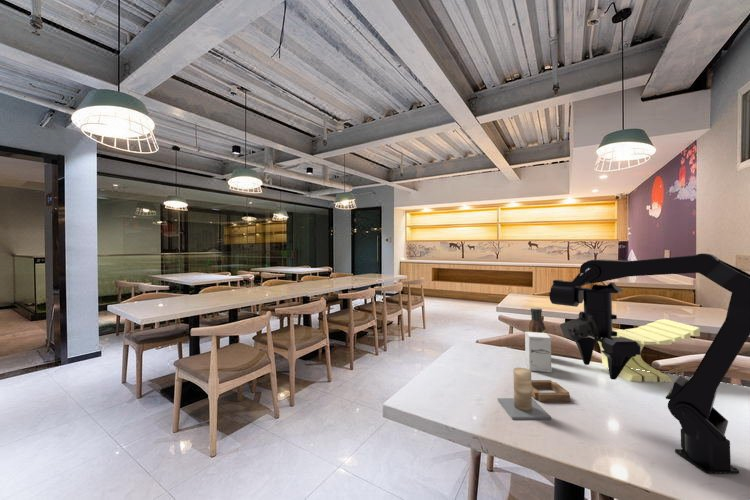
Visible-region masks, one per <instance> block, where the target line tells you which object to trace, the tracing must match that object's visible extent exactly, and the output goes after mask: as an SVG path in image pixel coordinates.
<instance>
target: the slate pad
mask: <svg viewBox="0 0 750 500" xmlns="http://www.w3.org/2000/svg"><path fill="white" fill-rule="evenodd" d="M497 402H498V403H499V404H500V405H501V407H502V408H503V409H504V410H505V412H506V414H508V415H509V417H510V418H511V419H512V420H552V416H551V415H550V414H549V413H548V412H547V411H546V410H545V409H544V407H542V406H541V405H540V404H539V403H538V402H537V401H536V399H534V398H532V410H531V411H521V410H518V409H517V408H515V406H514V397H511V398H510V397H509V398H507V397H506V398H503V397H501V398H500V397H499V398H498V397H497Z"/></svg>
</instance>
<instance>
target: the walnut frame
mask: <svg viewBox="0 0 750 500" xmlns="http://www.w3.org/2000/svg"><path fill="white" fill-rule="evenodd" d="M531 386H532V399H534V400H537V401H538V402H539V403H553V402H554V403H570V402H571V394H570V392H569V391H568V390H567V389H565V388H564V387H563V386H561V385H560V384H558V383H557V382H555V381H552V380H551V379H542V380H541V379H537V380H536V379H533V380H532V379H531ZM538 389H550V390H552V391H553V392H551V391H550V392H549V391H548V392H540V391H538Z"/></svg>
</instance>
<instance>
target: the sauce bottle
mask: <svg viewBox="0 0 750 500" xmlns="http://www.w3.org/2000/svg"><path fill="white" fill-rule="evenodd" d="M542 312H543V309H542V308H540V307H531V308H530V313H531V317H530V318H531V320H530V321H529V323H528V332H537V333H546V334H547V331H546V330H547V329H546V326H545V323H544V321H543V318H542V317H543V316H542Z"/></svg>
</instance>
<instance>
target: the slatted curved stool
mask: <svg viewBox="0 0 750 500" xmlns="http://www.w3.org/2000/svg"><path fill="white" fill-rule="evenodd" d="M612 331H615V332H617V336H612V337H625V338H628V339H631V340H633V341H636V342H637V343H638V344H639V345H641V351H642V350H643V349H644V347H645V345H646V346H647V345H660V346H662V345H663V346H665V345H666V346H670V345H672V344H673V343H672V342H674V343H682V340H692V339H691V337H701V329H700V327H699V326H695V325H690V324H686V323H682V322H679V321H674V320H672V319H667V318H666V319H665V318H662V319H657V320H654V322H649V323H646V324H645V325H640V326H639V325H638V327H634V328H625V329H612ZM597 343H598V345H599V348H600V352H601V364H602V366H603V365H604V366H606V367H607V368H608V360H607V356H606V355H605V354H604V353H603V352H602V351H604V349H603V348H602V342H599V341H597ZM641 355H642V354H641ZM641 355H636V356H635V357H632V358H631V359H630V360H629V361H628V362H627V363H626V365H625V366H624V368H623V369H622V371H621V372H620V374H619V375H618V377H621V378H623V379H625V380H626V381H628V382H638V383H639V382H645V381H646V382H647V381H650V383H658V382H659V381H663V382H662V383H673V381H672V379H671V376H669V375H667V374H665V373H663V372H662V371H659V370H657V369H655V368H654V367H652V366H650V365H649V364H648V363H647V362H645V361H644V360H643V358H642V356H641ZM604 366H603V367H604ZM607 368H606V369H607ZM631 368H633V369H631ZM636 369H640V370H636ZM642 370H645V371H642ZM647 371H650V372H647ZM651 381H653V382H651ZM664 381H665V382H664ZM647 383H648V382H647Z"/></svg>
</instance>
